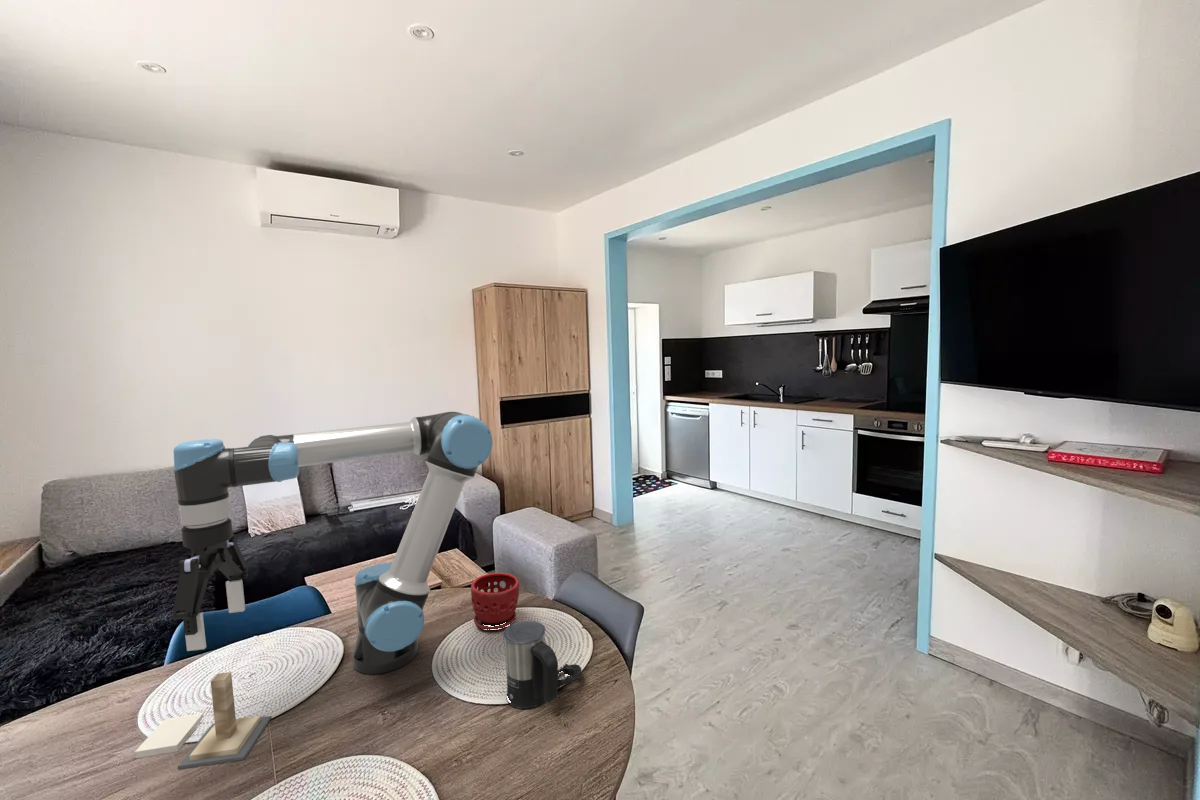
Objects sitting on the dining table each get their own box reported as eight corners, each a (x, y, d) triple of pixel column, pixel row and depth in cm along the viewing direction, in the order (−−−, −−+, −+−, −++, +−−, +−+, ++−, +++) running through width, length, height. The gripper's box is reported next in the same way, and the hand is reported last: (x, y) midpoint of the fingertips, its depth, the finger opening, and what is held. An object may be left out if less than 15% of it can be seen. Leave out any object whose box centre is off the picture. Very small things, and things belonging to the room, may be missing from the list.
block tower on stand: (260, 720, 104) (255, 660, 103) (237, 753, 95) (231, 688, 94) (217, 726, 103) (211, 665, 102) (190, 760, 94) (183, 694, 93)
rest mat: (271, 718, 105) (271, 715, 105) (244, 759, 95) (243, 756, 94) (212, 726, 103) (212, 723, 103) (178, 769, 93) (177, 766, 93)
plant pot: (471, 638, 133) (469, 595, 132) (473, 614, 146) (471, 574, 145) (521, 632, 136) (519, 589, 135) (519, 608, 149) (517, 569, 148)
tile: (203, 713, 106) (176, 745, 97) (204, 720, 106) (177, 753, 97) (164, 718, 104) (134, 752, 95) (165, 726, 104) (135, 760, 96)
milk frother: (497, 702, 108) (494, 637, 107) (536, 661, 123) (534, 603, 121) (554, 721, 102) (552, 652, 101) (588, 676, 117) (586, 614, 115)
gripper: (221, 504, 107) (231, 600, 109) (135, 548, 82) (150, 671, 84) (260, 501, 108) (270, 596, 110) (187, 544, 84) (201, 665, 85)
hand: (218, 629), depth 97 cm, fingers open, 13 cm apart
